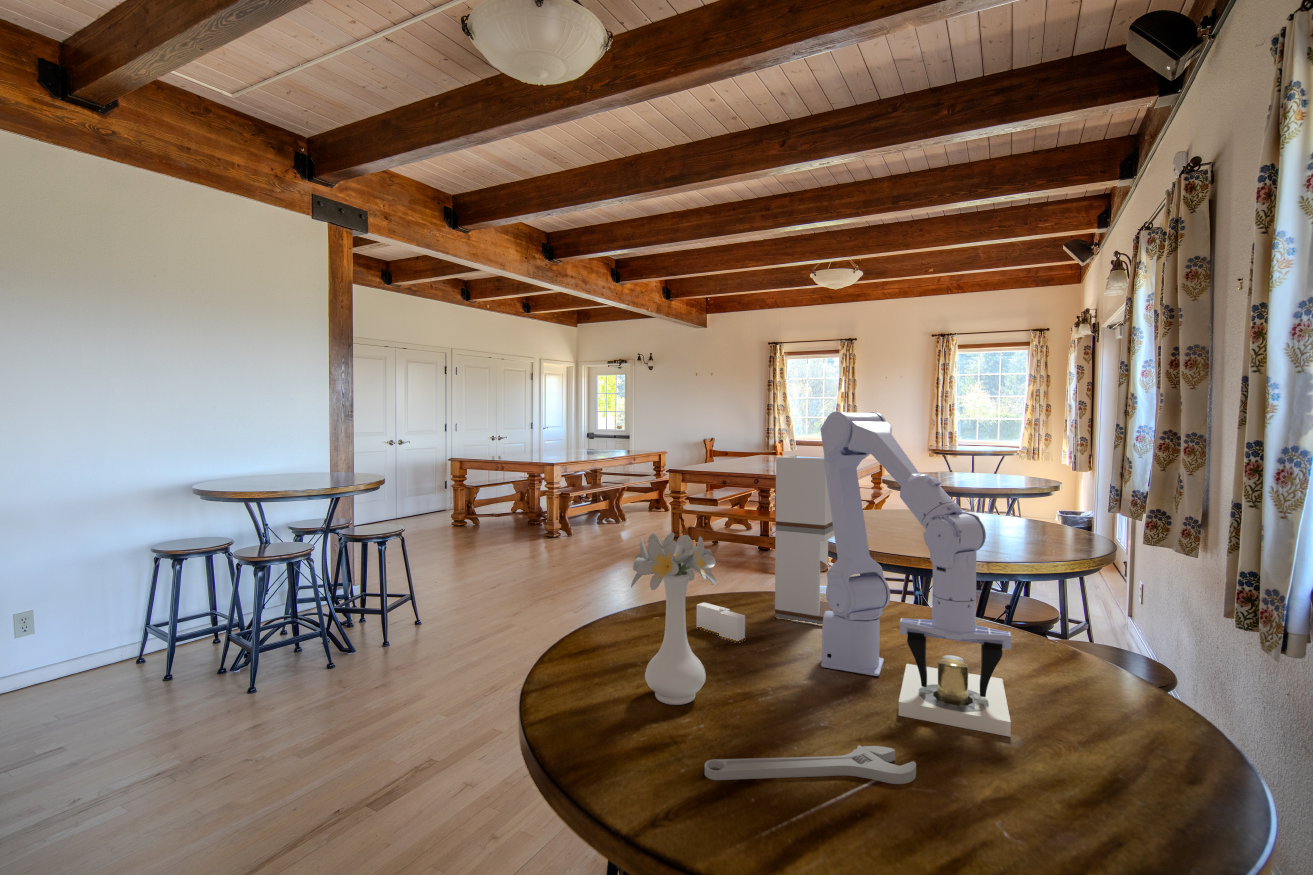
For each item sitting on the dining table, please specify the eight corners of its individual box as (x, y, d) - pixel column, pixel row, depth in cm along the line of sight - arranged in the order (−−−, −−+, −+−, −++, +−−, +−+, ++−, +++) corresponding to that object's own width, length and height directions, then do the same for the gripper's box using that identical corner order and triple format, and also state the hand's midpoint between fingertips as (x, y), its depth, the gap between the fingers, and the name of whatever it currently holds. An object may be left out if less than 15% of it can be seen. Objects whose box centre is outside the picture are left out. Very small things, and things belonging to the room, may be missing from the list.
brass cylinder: (936, 714, 89) (937, 666, 89) (937, 703, 93) (938, 657, 93) (968, 720, 88) (968, 670, 87) (967, 708, 91) (968, 661, 91)
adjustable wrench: (705, 785, 72) (705, 769, 72) (702, 755, 79) (702, 742, 79) (921, 787, 72) (921, 771, 72) (900, 757, 78) (900, 743, 78)
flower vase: (706, 670, 105) (707, 523, 105) (723, 722, 87) (724, 544, 86) (629, 671, 104) (630, 524, 104) (630, 724, 86) (631, 544, 86)
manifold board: (898, 715, 89) (898, 680, 89) (906, 675, 103) (906, 645, 103) (1010, 736, 83) (1011, 699, 83) (1002, 691, 97) (1002, 659, 97)
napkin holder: (685, 626, 130) (685, 599, 130) (738, 624, 132) (738, 597, 131) (698, 651, 115) (698, 621, 115) (757, 649, 117) (758, 619, 117)
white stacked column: (823, 626, 129) (825, 458, 128) (774, 618, 134) (776, 457, 134) (838, 612, 138) (839, 456, 138) (791, 605, 144) (792, 455, 143)
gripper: (898, 596, 90) (897, 690, 90) (1013, 610, 83) (1012, 710, 84) (902, 585, 96) (901, 672, 96) (1009, 597, 90) (1008, 690, 90)
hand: (952, 689), depth 90 cm, fingers open, 7 cm apart
